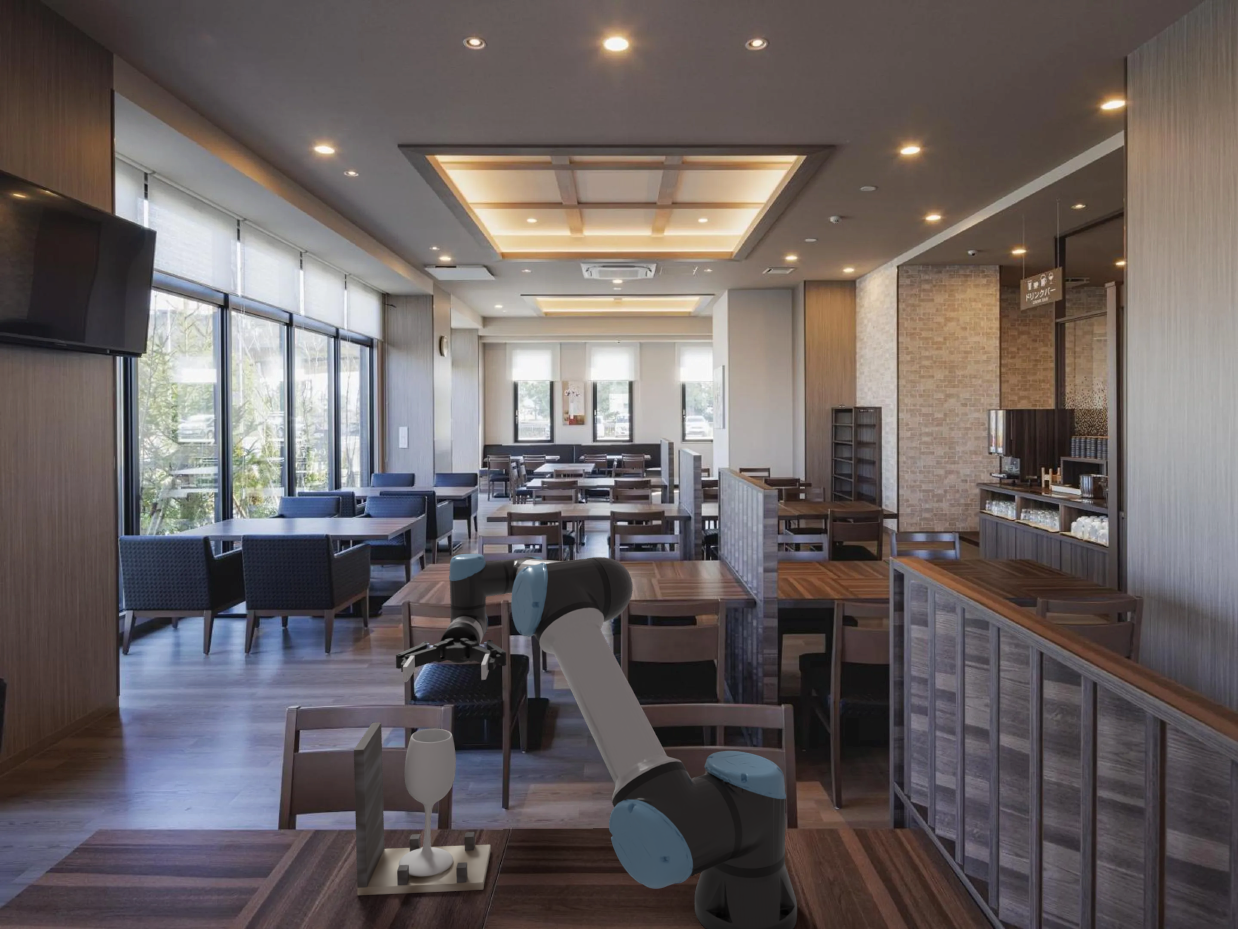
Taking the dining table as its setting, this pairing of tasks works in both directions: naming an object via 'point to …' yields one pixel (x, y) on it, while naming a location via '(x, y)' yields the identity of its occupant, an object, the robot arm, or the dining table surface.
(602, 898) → the dining table surface
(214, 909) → the dining table surface
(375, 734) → the pegged display stand
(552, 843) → the dining table surface
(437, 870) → the wineglass
